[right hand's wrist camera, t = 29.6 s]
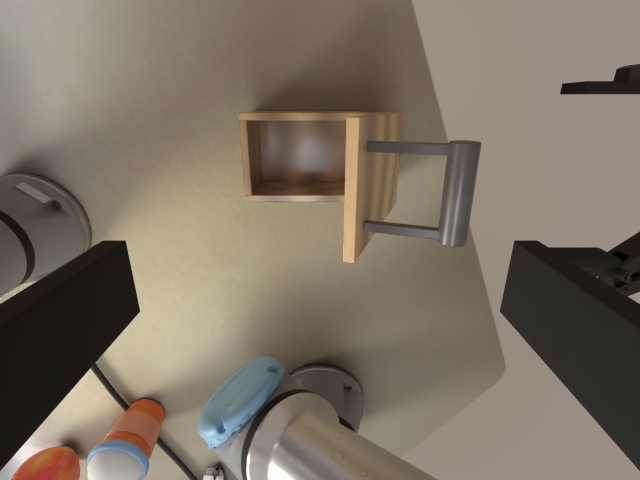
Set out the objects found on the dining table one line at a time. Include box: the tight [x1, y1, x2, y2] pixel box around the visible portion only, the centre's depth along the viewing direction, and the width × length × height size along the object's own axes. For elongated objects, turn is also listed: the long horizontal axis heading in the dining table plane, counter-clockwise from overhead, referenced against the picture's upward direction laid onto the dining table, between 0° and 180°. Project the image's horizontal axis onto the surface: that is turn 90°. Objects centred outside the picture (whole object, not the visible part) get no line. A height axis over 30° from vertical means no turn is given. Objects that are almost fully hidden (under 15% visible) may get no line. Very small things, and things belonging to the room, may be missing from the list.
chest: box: [239, 111, 395, 202], centre depth 44 cm, size 17×10×9 cm, turn 90°
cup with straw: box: [87, 399, 165, 480], centre depth 56 cm, size 9×9×18 cm
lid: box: [343, 112, 481, 263], centre depth 30 cm, size 18×10×8 cm
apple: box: [11, 446, 80, 480], centre depth 63 cm, size 10×10×10 cm
